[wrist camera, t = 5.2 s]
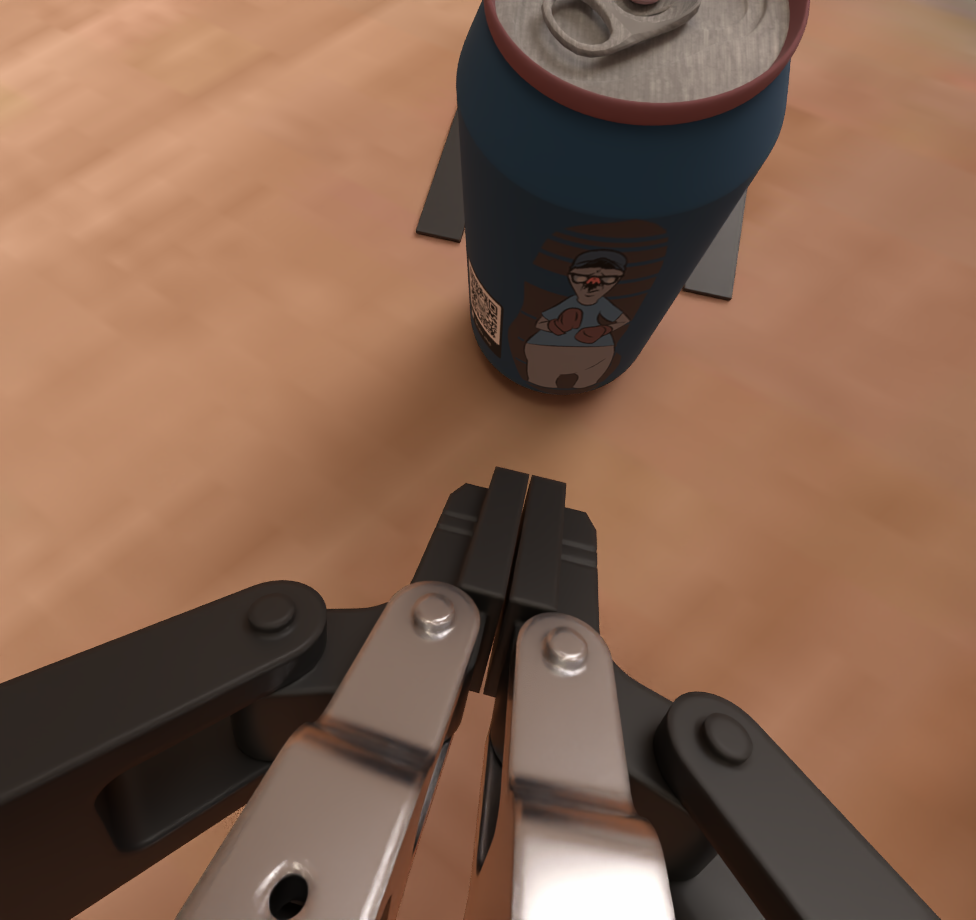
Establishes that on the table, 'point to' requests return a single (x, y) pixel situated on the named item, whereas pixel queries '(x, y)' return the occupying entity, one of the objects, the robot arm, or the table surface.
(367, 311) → the table surface
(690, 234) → the soda can
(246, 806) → the robot arm
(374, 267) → the table surface
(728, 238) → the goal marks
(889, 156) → the table surface
